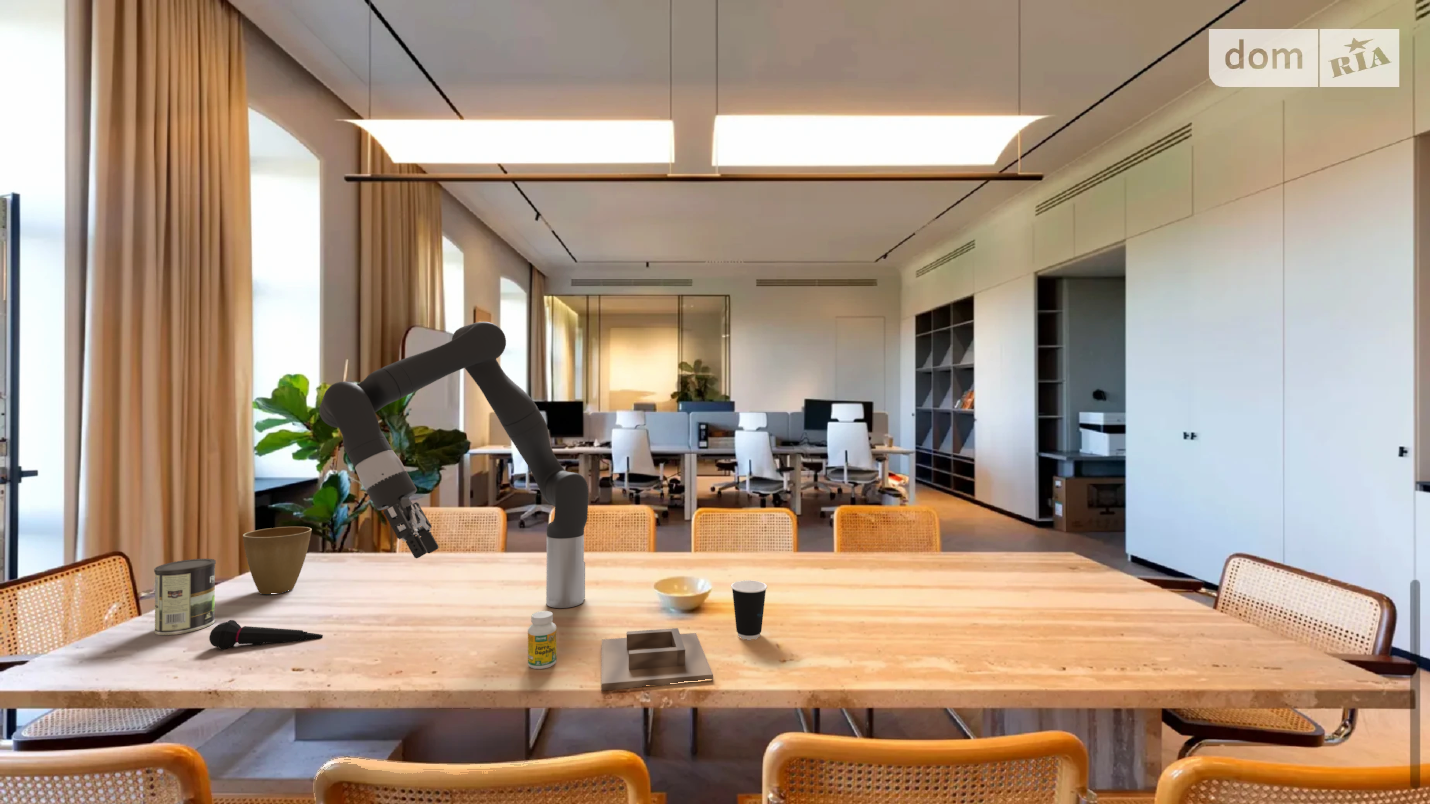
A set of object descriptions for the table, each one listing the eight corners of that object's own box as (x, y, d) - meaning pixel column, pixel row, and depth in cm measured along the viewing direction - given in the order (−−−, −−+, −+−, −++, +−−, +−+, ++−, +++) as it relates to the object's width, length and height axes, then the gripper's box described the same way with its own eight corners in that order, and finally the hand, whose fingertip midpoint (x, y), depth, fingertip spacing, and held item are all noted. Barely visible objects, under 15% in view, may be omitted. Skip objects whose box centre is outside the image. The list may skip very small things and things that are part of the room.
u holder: (601, 690, 104) (601, 666, 104) (601, 645, 123) (601, 625, 123) (713, 681, 107) (713, 657, 107) (695, 638, 127) (696, 619, 127)
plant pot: (284, 600, 151) (285, 537, 151) (227, 599, 151) (227, 537, 151) (323, 582, 166) (324, 525, 166) (271, 582, 166) (272, 525, 166)
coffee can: (211, 615, 140) (212, 555, 140) (218, 626, 133) (219, 563, 133) (151, 627, 132) (152, 564, 132) (155, 639, 125) (156, 573, 125)
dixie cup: (771, 641, 126) (772, 589, 126) (736, 644, 124) (736, 592, 124) (760, 627, 133) (760, 579, 134) (726, 630, 132) (727, 581, 132)
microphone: (322, 650, 128) (212, 648, 122) (329, 621, 130) (221, 619, 124) (315, 651, 123) (200, 650, 117) (322, 622, 125) (209, 619, 119)
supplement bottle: (551, 655, 118) (551, 607, 118) (560, 665, 114) (560, 615, 114) (524, 662, 115) (524, 612, 115) (532, 672, 111) (532, 621, 111)
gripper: (393, 468, 106) (437, 546, 106) (415, 470, 120) (455, 539, 120) (351, 490, 104) (397, 569, 104) (379, 489, 118) (419, 559, 118)
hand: (428, 553), depth 112 cm, fingers open, 8 cm apart
